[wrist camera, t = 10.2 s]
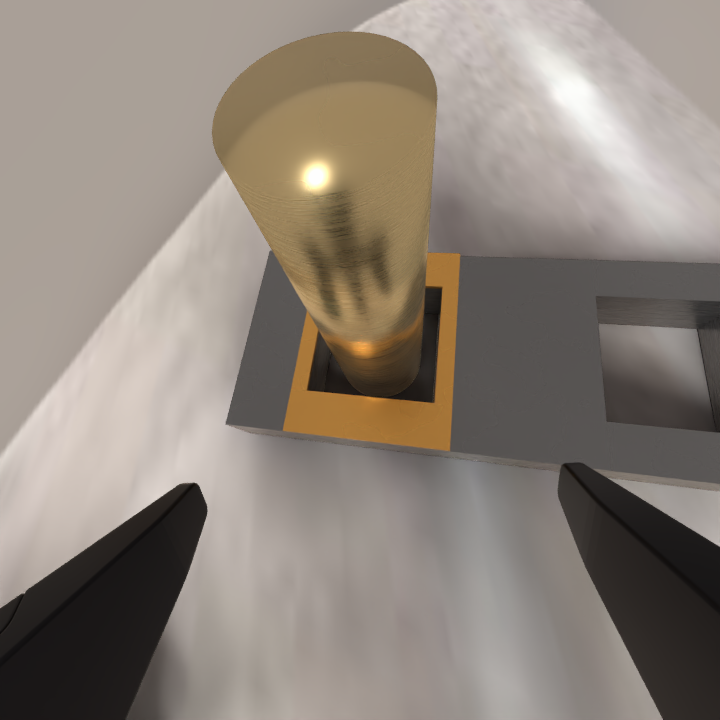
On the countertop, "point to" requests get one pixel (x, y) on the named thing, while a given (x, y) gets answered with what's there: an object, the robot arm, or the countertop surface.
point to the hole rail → (497, 368)
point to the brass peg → (342, 189)
